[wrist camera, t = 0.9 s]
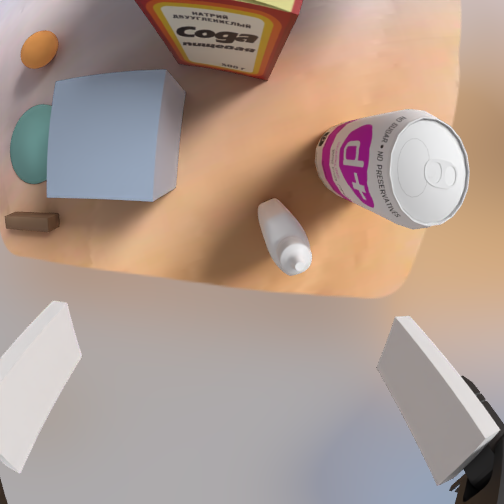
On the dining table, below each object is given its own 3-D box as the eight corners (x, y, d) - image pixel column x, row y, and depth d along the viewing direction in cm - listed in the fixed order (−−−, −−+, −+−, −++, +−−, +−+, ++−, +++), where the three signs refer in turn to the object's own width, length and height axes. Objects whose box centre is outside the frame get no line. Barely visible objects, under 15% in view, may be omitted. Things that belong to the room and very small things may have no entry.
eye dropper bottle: (299, 199, 30) (337, 229, 19) (293, 250, 32) (322, 303, 20) (258, 196, 30) (273, 223, 18) (253, 247, 31) (263, 301, 20)
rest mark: (14, 110, 23) (13, 110, 23) (70, 99, 24) (69, 99, 24) (10, 184, 27) (9, 184, 26) (64, 183, 28) (63, 183, 27)
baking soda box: (178, 63, 24) (128, -9, 9) (196, 14, 22) (169, -75, 7) (267, 80, 26) (300, 12, 11) (281, 31, 24) (320, -55, 8)
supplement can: (310, 194, 30) (372, 231, 16) (315, 117, 27) (384, 92, 13) (377, 200, 30) (464, 239, 16) (383, 129, 28) (477, 125, 14)
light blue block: (98, 95, 25) (55, 81, 16) (185, 92, 25) (166, 69, 17) (90, 184, 28) (46, 197, 20) (175, 187, 29) (152, 201, 20)
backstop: (16, 211, 28) (4, 216, 26) (58, 213, 29) (47, 218, 26) (17, 223, 28) (6, 228, 26) (59, 226, 29) (48, 232, 27)
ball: (40, 41, 21) (19, 32, 16) (69, 33, 21) (49, 21, 16) (32, 75, 22) (9, 69, 17) (60, 67, 23) (37, 59, 18)
